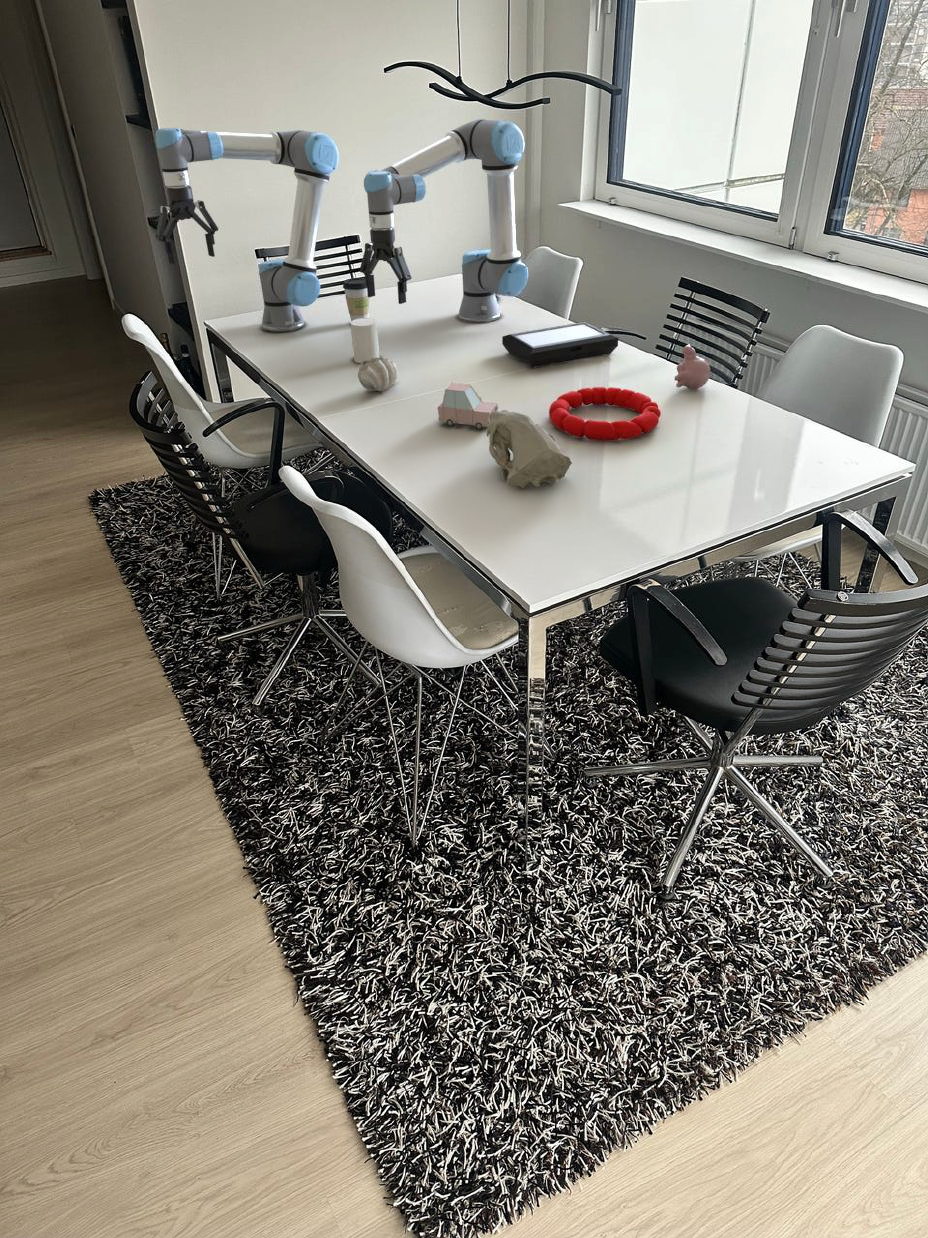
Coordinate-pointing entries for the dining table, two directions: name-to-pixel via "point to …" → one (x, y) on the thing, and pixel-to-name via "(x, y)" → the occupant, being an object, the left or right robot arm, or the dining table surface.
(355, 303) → the coffee cup
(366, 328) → the canister
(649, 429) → the decorative ring
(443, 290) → the dining table surface
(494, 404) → the toy car
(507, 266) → the right robot arm
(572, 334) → the electronic device
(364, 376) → the seashell
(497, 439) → the animal skull
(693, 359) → the figurine
